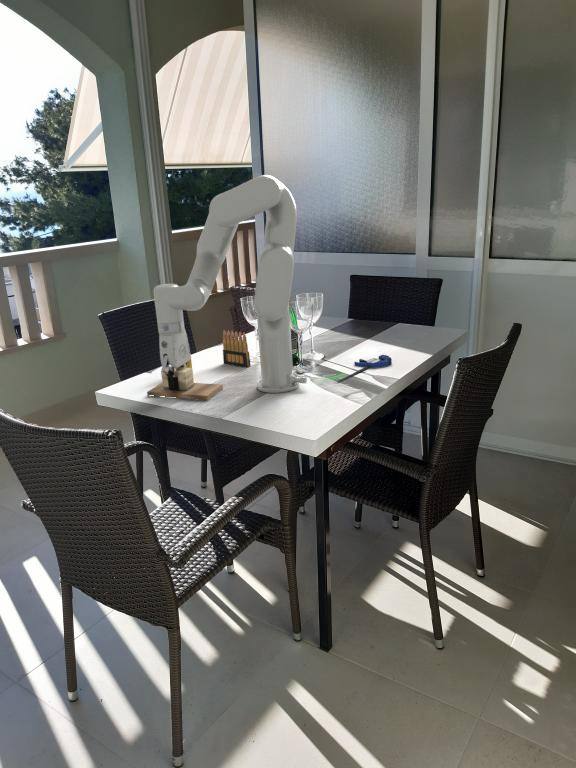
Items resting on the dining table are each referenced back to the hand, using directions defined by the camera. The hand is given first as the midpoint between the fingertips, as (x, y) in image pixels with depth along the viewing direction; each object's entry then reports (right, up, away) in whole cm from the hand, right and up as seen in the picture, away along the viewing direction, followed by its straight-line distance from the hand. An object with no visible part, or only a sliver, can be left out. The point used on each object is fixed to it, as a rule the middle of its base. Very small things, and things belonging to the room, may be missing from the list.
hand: (178, 386), depth 182 cm
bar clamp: (+54, +3, +8) cm, 55 cm away
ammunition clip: (+16, +7, +24) cm, 30 cm away
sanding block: (0, 0, 0) cm, 0 cm away
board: (+2, -2, 0) cm, 3 cm away
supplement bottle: (-1, +3, +17) cm, 18 cm away
